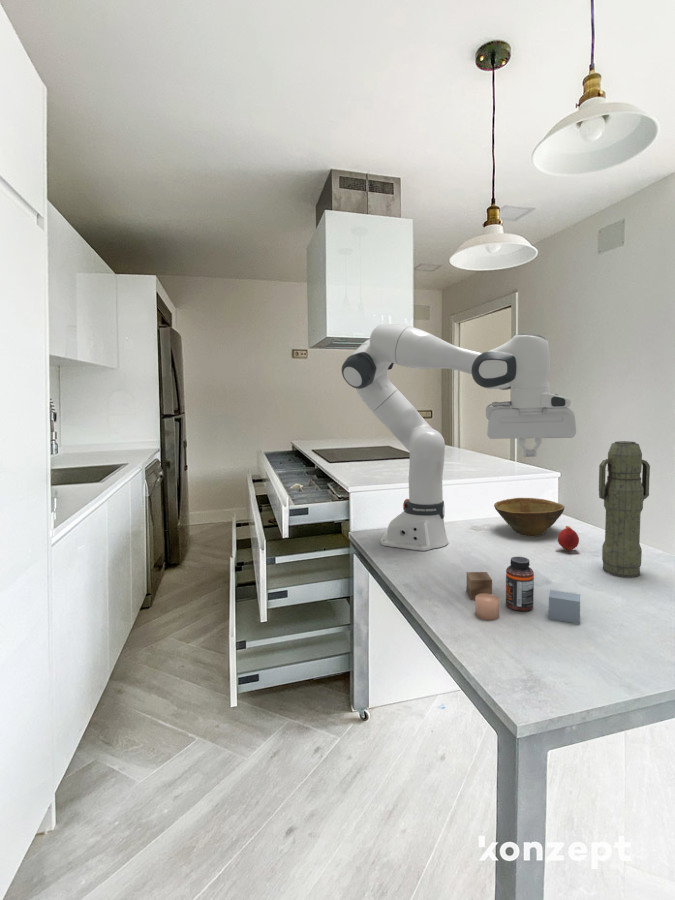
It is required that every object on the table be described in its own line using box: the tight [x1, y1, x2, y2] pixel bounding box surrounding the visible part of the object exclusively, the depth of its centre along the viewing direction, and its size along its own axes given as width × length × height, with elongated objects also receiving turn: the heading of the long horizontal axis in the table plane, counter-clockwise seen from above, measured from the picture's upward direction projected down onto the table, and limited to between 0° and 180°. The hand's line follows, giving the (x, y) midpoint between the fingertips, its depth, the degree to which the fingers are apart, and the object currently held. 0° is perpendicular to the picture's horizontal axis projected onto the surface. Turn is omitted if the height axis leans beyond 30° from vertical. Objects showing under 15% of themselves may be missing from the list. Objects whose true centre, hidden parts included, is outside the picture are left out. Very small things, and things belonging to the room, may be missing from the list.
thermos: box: [598, 440, 651, 578], centre depth 120 cm, size 9×12×35 cm
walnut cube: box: [465, 571, 493, 601], centre depth 111 cm, size 5×5×5 cm
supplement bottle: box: [505, 556, 535, 612], centre depth 104 cm, size 6×6×11 cm
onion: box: [557, 525, 580, 552], centre depth 139 cm, size 6×6×8 cm
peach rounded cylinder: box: [474, 593, 500, 621], centre depth 101 cm, size 5×5×4 cm
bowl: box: [493, 497, 565, 537], centre depth 159 cm, size 22×23×10 cm
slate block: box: [548, 589, 581, 625], centre depth 99 cm, size 6×4×5 cm, turn 61°
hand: (529, 456), depth 113 cm, fingers closed
